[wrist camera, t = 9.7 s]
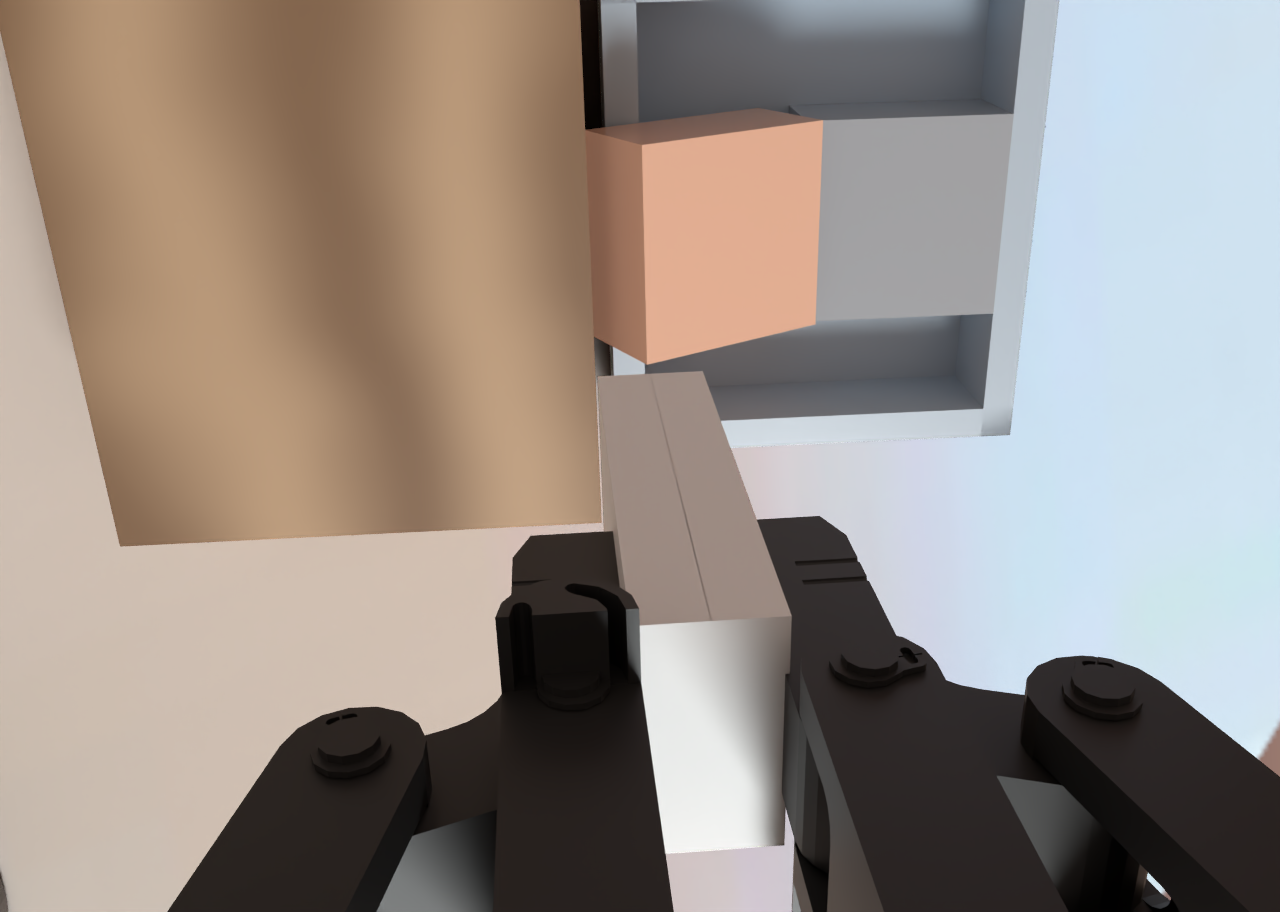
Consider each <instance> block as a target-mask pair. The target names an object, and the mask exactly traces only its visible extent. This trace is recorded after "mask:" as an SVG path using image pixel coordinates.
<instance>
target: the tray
mask: <svg viewBox="0 0 1280 912" xmlns="http://www.w3.org/2000/svg"><path fill="white" fill-rule="evenodd" d="M597 3H598V31H599V58H600V86H601V114H602V128H603V127H611V126H619V125H627V124H635V123H643V122H650V121H658V120H666V119H674V118H682V117H690V116H698V115H706V114H713V113H721V112H729V111H737V110H745V109H753V108H762V109H767V110H773V111H778V112H783V113H788V114H789V105H810V104H839V103H868V102H897V101H926V100H955V99H983V100H985V101H987V102H989V103H991V104H994V105H996V106H998V107H1000V108H1002V109H1004V110H1007V111H1009V112H1011V113H1013V114H1014V117H1013V127H1012V137H1011V146H1010V156H1009V166H1008V175H1007V185H1006V195H1005V205H1004V214H1003V224H1002V234H1001V244H1000V253H999V263H998V273H997V283H996V292H995V302H994V312H993V314H972V315H949V316H925V317H902V318H878V319H855V320H832V321H816V324H815V325H811V326H807V327H802V328H798V329H794V330H790V331H786V332H782V333H777V334H773V335H769V336H765V337H761V338H757V339H752V340H748V341H744V342H740V343H736V344H732V345H727V346H723V347H719V348H715V349H711V350H707V351H702V352H698V353H694V354H690V355H686V356H682V357H677V358H673V359H669V360H665V361H661V362H657V363H652V364H648V365H647V364H645V363H643V362H641V361H639V360H637V359H635V358H633V357H631V356H629V355H628V354H626V353H624V352H622V351H620V350H618V349H616V348H614V347H612V346H611V345H610V362H611V376H615V375H635V374H655V373H675V372H695V371H703V373H704V376H705V379H706V382H707V384H708V387H709V390H710V393H711V395H712V398H713V401H714V404H715V406H716V409H717V412H718V415H719V417H720V420H721V423H722V426H723V428H724V431H725V434H726V437H727V439H728V442H729V445H730V448H741V447H763V446H784V445H805V444H827V443H848V442H870V441H891V440H912V439H934V438H955V437H977V436H998V435H1010V429H1011V420H1012V412H1013V403H1014V394H1015V385H1016V376H1017V368H1018V359H1019V350H1020V341H1021V333H1022V324H1023V315H1024V306H1025V297H1026V289H1027V280H1028V271H1029V262H1030V253H1031V245H1032V236H1033V227H1034V218H1035V210H1036V201H1037V192H1038V183H1039V174H1040V166H1041V157H1042V148H1043V139H1044V131H1045V122H1046V113H1047V104H1048V95H1049V87H1050V78H1051V69H1052V60H1053V51H1054V43H1055V34H1056V25H1057V16H1058V8H1059V0H597Z"/></svg>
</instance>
